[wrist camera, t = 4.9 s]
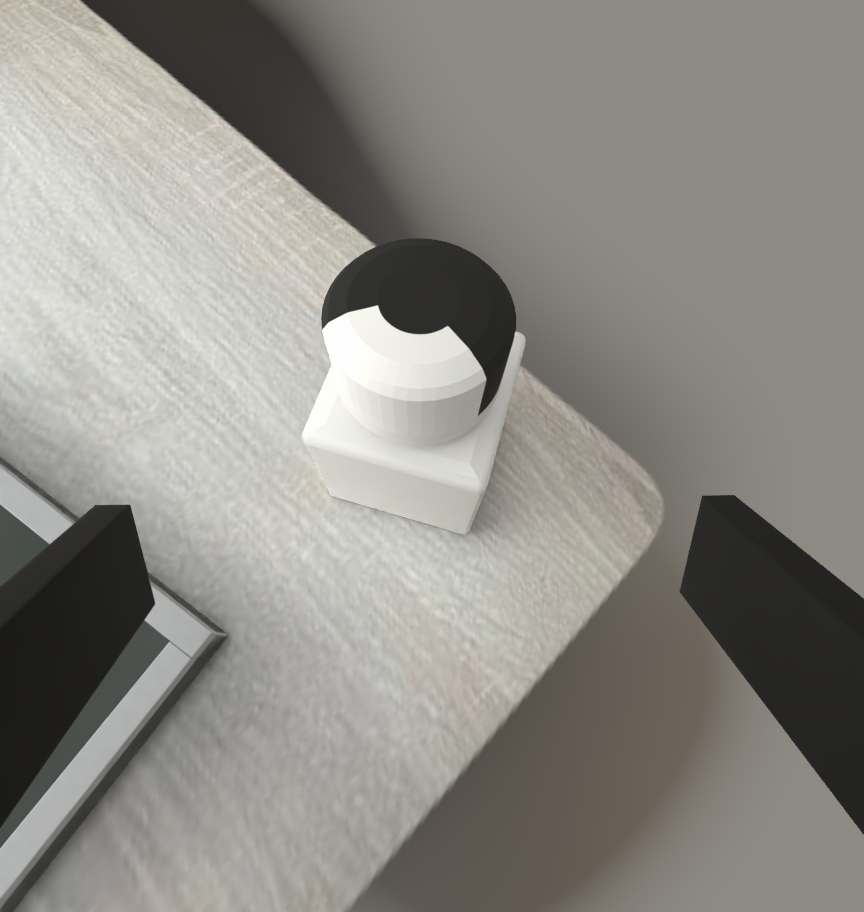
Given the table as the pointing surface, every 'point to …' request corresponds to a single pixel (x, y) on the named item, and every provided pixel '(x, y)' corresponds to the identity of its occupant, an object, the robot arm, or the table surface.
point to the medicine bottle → (415, 381)
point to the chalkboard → (108, 710)
